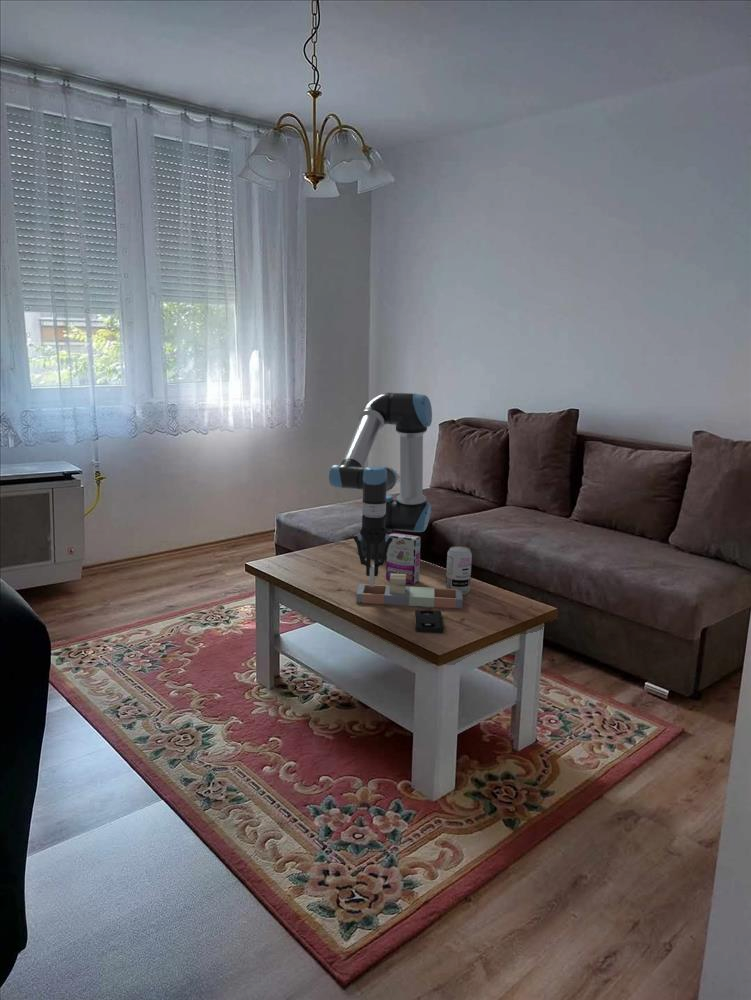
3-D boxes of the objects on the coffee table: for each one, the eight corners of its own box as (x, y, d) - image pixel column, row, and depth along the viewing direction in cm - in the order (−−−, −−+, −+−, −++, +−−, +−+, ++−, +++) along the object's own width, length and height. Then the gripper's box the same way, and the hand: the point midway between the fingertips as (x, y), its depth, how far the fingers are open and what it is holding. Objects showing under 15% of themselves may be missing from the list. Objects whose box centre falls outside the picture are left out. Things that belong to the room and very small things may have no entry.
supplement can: (452, 586, 250) (455, 544, 247) (473, 591, 245) (476, 549, 242) (441, 592, 244) (443, 549, 240) (462, 597, 239) (464, 554, 236)
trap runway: (359, 592, 241) (359, 583, 240) (461, 597, 239) (461, 589, 238) (356, 602, 231) (356, 593, 231) (462, 608, 229) (462, 599, 228)
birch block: (390, 587, 237) (390, 573, 236) (405, 588, 237) (406, 574, 236) (389, 592, 232) (389, 578, 231) (404, 593, 232) (405, 579, 231)
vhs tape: (415, 615, 223) (415, 609, 222) (440, 616, 223) (440, 610, 222) (415, 633, 209) (416, 627, 209) (443, 634, 209) (443, 628, 208)
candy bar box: (419, 581, 254) (421, 536, 251) (413, 585, 250) (415, 539, 247) (391, 575, 259) (393, 531, 256) (385, 579, 255) (386, 534, 252)
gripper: (352, 516, 227) (350, 587, 232) (393, 518, 226) (391, 590, 231) (354, 511, 234) (353, 580, 239) (394, 513, 233) (392, 582, 238)
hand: (371, 585), depth 235 cm, fingers closed
